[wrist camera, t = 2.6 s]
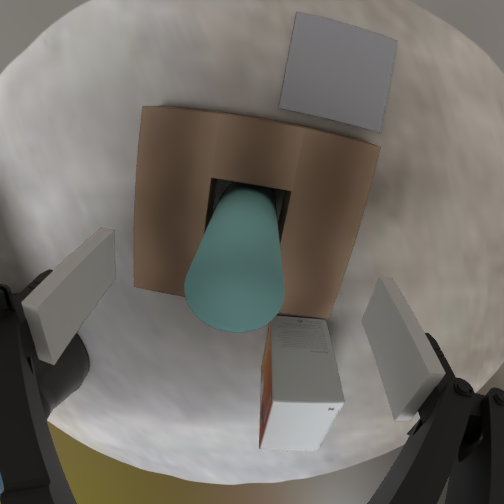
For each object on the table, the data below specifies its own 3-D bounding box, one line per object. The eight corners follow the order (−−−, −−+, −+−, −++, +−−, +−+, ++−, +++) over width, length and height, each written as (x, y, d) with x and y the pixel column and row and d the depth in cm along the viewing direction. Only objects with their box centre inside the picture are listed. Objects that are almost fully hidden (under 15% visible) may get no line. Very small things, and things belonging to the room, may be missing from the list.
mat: (278, 108, 22) (278, 108, 22) (296, 13, 19) (296, 11, 18) (377, 132, 23) (380, 132, 22) (394, 41, 19) (397, 40, 19)
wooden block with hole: (148, 264, 28) (134, 286, 25) (160, 105, 22) (142, 106, 19) (321, 292, 29) (328, 318, 25) (363, 140, 23) (380, 147, 19)
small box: (270, 312, 30) (271, 399, 21) (327, 317, 30) (347, 402, 21) (259, 369, 34) (257, 450, 24) (309, 373, 34) (318, 452, 24)
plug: (217, 225, 27) (182, 323, 15) (224, 173, 25) (187, 239, 13) (269, 234, 27) (273, 338, 15) (280, 183, 25) (294, 257, 13)
